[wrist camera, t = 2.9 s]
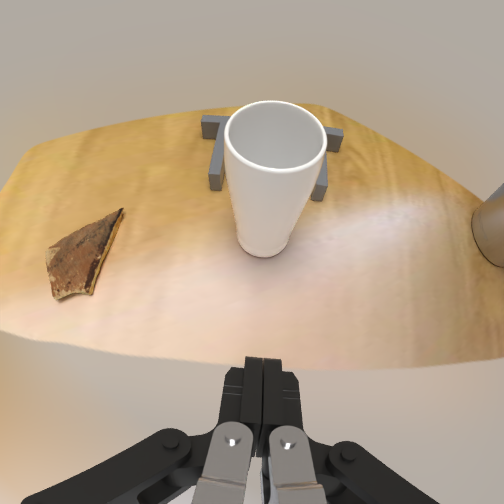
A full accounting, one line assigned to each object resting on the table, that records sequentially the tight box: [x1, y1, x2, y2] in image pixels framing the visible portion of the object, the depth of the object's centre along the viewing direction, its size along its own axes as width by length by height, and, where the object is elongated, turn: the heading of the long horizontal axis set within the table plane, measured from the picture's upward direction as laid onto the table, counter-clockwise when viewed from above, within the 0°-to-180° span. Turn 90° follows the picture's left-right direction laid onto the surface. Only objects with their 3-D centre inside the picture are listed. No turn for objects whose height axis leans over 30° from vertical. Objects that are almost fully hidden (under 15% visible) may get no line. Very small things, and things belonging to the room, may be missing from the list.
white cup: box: [224, 101, 327, 257], centre depth 26 cm, size 7×7×15 cm
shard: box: [46, 208, 123, 300], centre depth 31 cm, size 11×8×2 cm
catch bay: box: [201, 115, 344, 201], centre depth 35 cm, size 17×9×3 cm, turn 84°
